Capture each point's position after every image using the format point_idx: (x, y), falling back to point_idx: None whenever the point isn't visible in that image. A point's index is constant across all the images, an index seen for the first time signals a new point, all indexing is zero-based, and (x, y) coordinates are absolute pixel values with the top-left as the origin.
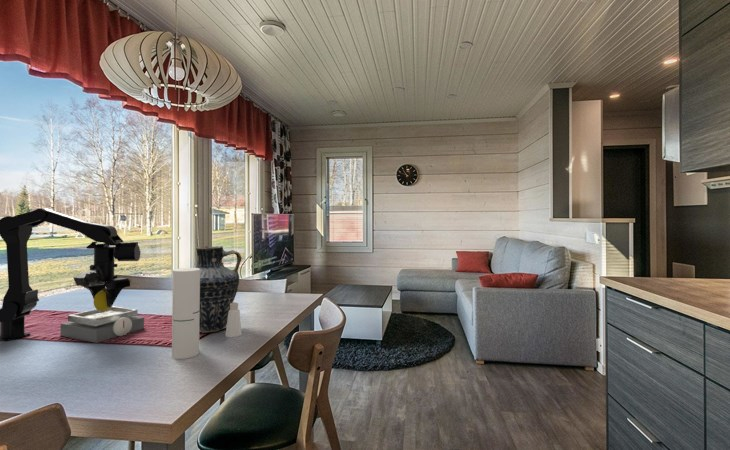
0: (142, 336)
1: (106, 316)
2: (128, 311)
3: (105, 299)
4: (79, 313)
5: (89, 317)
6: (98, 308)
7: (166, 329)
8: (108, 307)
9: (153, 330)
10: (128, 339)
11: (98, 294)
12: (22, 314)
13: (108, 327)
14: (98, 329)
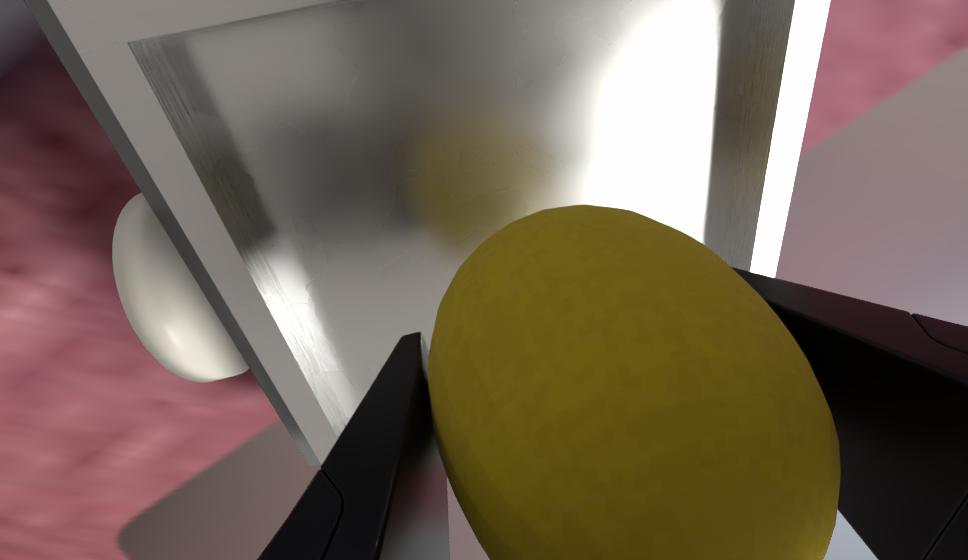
0: (79, 328)
1: (458, 256)
2: (334, 442)
3: (442, 415)
4: (784, 38)
5: (590, 108)
6: (506, 226)
7: (176, 469)
8: (406, 336)
9: (216, 416)
10: (48, 231)
11: (649, 427)
12: None
13: (120, 148)
14: (47, 9)
